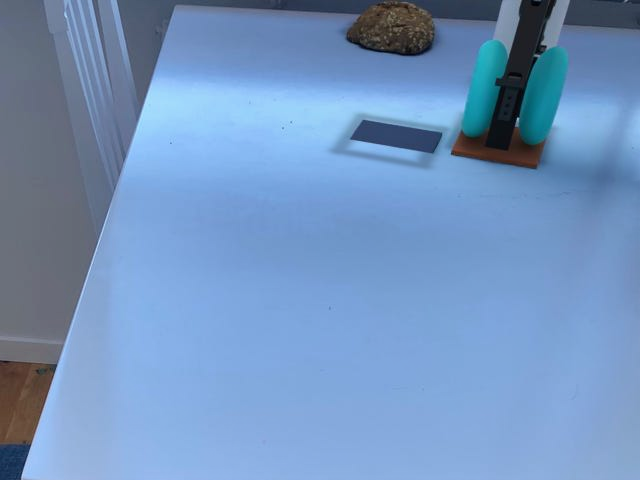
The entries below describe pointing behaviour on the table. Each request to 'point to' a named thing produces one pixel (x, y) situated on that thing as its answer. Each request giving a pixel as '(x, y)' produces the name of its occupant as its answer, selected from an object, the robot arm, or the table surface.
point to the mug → (511, 18)
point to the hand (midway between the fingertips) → (503, 131)
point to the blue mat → (397, 136)
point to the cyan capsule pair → (537, 97)
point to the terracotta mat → (515, 155)
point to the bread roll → (393, 28)
